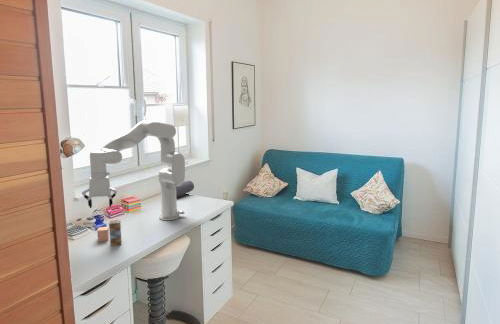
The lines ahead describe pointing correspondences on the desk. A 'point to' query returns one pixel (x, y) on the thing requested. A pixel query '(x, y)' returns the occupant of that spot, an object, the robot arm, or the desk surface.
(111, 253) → the desk surface
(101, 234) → the terracotta cube
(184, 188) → the bluetooth speaker
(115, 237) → the tower
